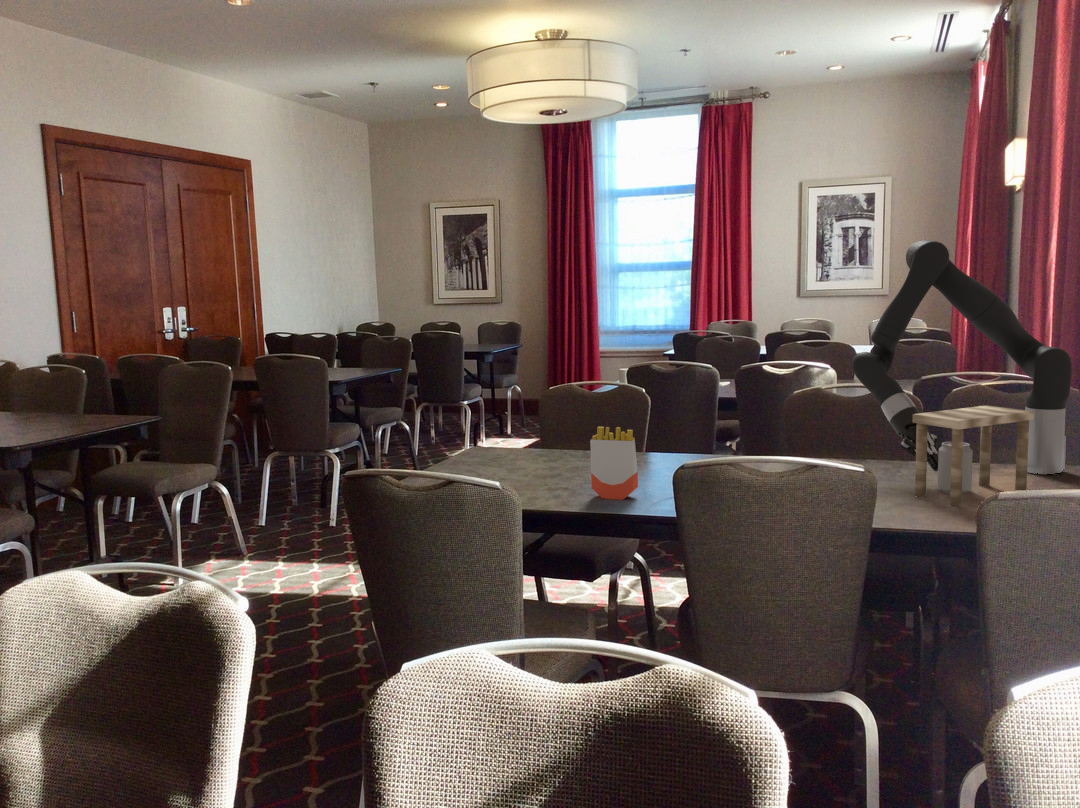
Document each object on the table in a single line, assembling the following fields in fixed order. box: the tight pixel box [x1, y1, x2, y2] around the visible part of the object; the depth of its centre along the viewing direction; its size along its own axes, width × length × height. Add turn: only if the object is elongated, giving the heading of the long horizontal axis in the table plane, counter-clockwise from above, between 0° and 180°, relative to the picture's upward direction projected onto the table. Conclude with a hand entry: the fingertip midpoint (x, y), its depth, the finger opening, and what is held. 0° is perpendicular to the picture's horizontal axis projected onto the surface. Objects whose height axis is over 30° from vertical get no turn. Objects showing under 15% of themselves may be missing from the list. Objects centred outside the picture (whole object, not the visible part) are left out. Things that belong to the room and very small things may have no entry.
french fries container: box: [589, 426, 639, 500], centre depth 220 cm, size 5×11×18 cm, turn 68°
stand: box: [913, 405, 1034, 508], centre depth 210 cm, size 25×13×20 cm, turn 115°
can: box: [937, 441, 973, 495], centre depth 215 cm, size 8×8×12 cm
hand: (939, 469), depth 219 cm, fingers closed
